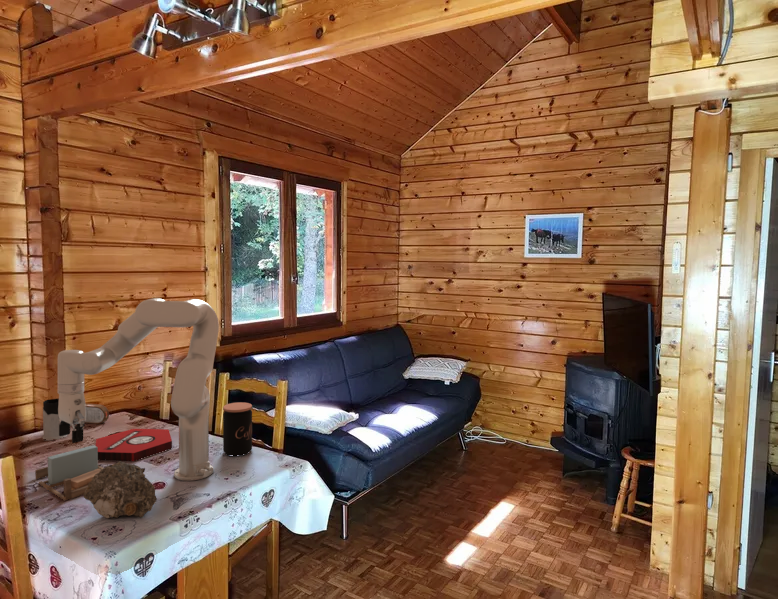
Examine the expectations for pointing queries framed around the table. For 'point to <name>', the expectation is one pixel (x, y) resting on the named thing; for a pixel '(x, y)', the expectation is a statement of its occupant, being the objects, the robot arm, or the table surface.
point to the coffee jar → (237, 428)
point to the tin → (96, 413)
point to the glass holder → (51, 420)
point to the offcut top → (83, 479)
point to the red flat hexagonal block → (133, 444)
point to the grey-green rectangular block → (72, 464)
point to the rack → (67, 484)
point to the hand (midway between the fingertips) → (71, 438)
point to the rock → (121, 491)
